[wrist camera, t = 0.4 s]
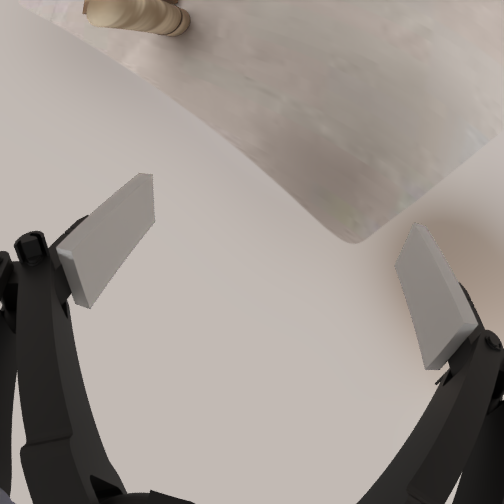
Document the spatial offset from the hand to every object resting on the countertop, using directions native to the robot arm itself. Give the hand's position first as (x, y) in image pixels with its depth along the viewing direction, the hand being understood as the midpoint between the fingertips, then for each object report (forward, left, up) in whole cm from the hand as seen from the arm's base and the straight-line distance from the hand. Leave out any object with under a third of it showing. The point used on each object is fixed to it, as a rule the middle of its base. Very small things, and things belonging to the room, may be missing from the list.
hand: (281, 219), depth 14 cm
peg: (-13, -18, -26) cm, 34 cm away
